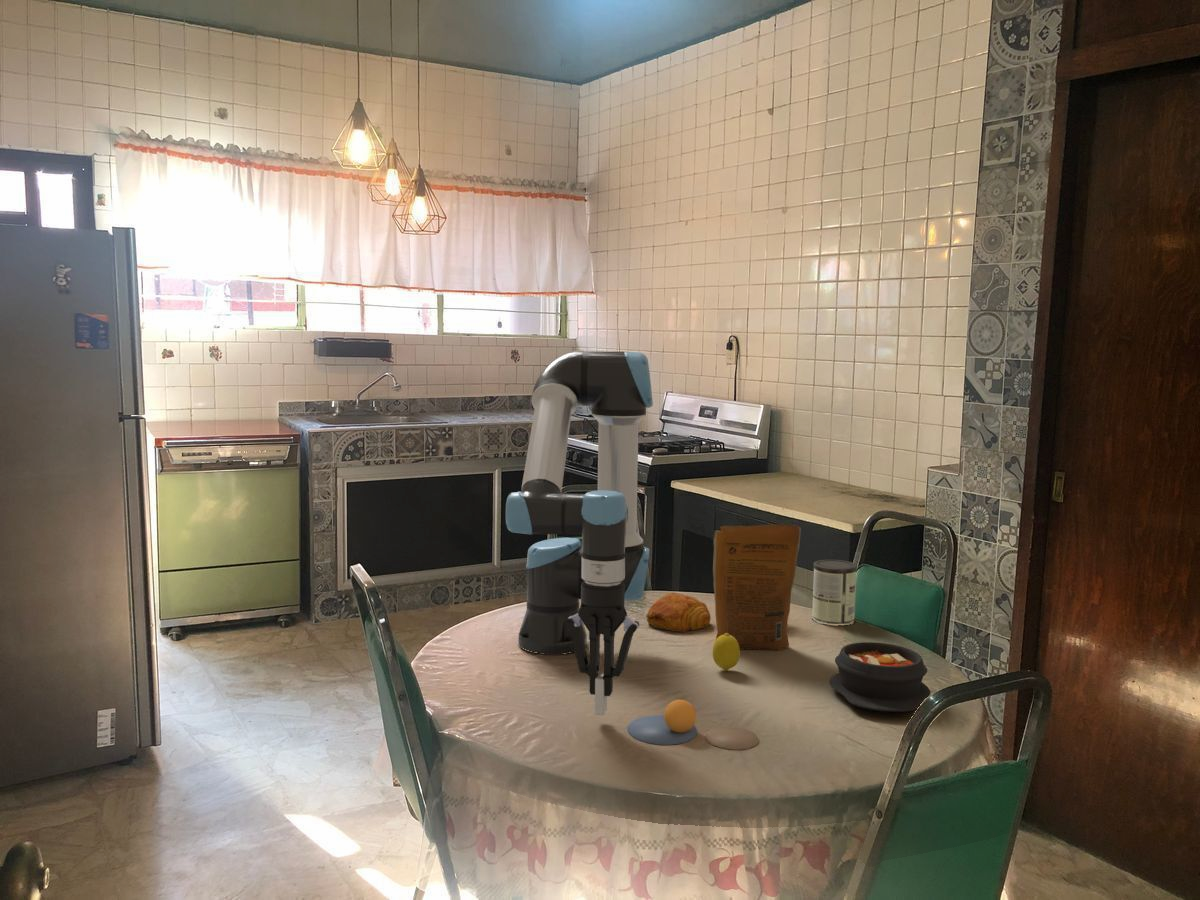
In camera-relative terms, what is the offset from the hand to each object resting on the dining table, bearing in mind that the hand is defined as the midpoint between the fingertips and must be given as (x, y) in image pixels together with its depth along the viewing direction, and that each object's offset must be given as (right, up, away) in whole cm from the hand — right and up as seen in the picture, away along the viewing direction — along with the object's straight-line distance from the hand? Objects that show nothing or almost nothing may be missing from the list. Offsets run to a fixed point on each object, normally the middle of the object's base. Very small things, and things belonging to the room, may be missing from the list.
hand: (600, 712), depth 163 cm
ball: (+14, 0, -3) cm, 14 cm away
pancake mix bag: (+34, +2, +43) cm, 55 cm away
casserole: (+53, -1, +15) cm, 56 cm away
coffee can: (+57, +4, +65) cm, 86 cm away
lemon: (+26, 0, +28) cm, 38 cm away
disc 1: (+11, -2, -3) cm, 11 cm away
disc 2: (+22, -3, -5) cm, 23 cm away
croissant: (+18, +4, +60) cm, 63 cm away
